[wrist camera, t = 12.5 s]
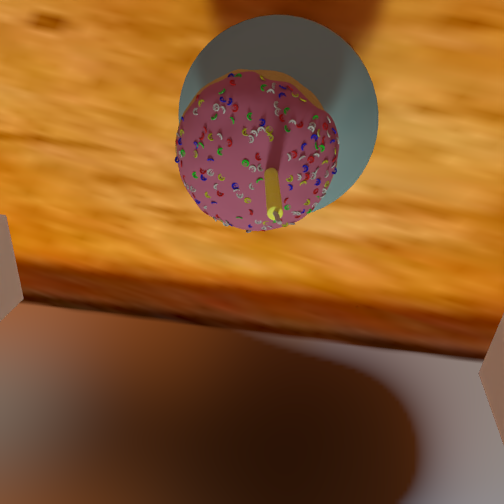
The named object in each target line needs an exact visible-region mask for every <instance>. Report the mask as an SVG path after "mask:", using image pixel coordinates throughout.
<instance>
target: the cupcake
mask: <svg viewBox="0 0 504 504" xmlns="http://www.w3.org/2000/svg"><path fill="white" fill-rule="evenodd" d="M339 143H340V142H339V137H338V132H337V129H336V126H335V123H334V121H333V119H332V117H331V116H330V115H329V114H328V113H327V112H326V111H325V110H324V108H323V107H322V105H321V103H320V102H319V100H318V99H317V97H316V96H315V95H314V94H313V93H312V92H311V91H310V90H308V89H307V88H306V87H304V86H303V85H302V84H300V83H299V82H298V81H297V80H295V79H294V78H292V77H291V76H289V75H287V74H285V73H282V72H278V71H271V70H246V69H237V70H234V71H231V72H229V73H227V74H225V75H223V76H221V77H219V78H217V79H215V80H214V81H212V82H210V83H208V84H207V85H205V86H204V87H203V88H201V89H200V90H199V91H198V93H197V94H196V95H195V97H194V98H193V99H192V101H191V102H190V104H189V105H188V107H187V108H186V110H185V111H184V113H183V115H182V117H181V120H180V123H179V127H178V131H177V137H176V156H177V157H176V158H175V162H176V163H178V166H179V171H180V175H181V178H182V181H183V183H184V185H185V187H186V189H187V191H188V192H189V194H190V195H191V197H192V198H193V199H194V201H195V202H196V204H197V205H198V207H199V208H200V209H201V210H202V211H203V212H204V213H206V214H207V215H209V216H211V217H213V218H214V220H215V221H217V220H219V221H221V222H223V225H225V226H229V225H231V226H234V227H237V228H241V229H245V230H246V232H247V233H249V232H251V231H265V230H271V229H275V228H280V227H286V226H288V225H289V224H291V225H294V224H295V222H297V221H299V220H300V219H302V218H303V217H305V216H306V215H307V214H308V213H310V212H311V211H312V210H313V209H314V208H315V206H317V204H318V203H319V202H320V200H321V199H322V197H324V196H325V195H326V191H327V189H328V187H329V185H330V183H331V181H332V178H333V176H334V174H336V172H337V169H336V167H337V159H338V152H339ZM216 219H217V220H216ZM226 224H227V225H226ZM249 230H250V231H249ZM248 231H249V232H248Z"/></svg>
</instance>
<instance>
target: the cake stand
mask: <svg viewBox="0 0 504 504" xmlns="http://www.w3.org/2000/svg"><path fill="white" fill-rule="evenodd" d="M237 69H246V70H271V71H278V72H282V73H285V74H287V75H289V76H291V77H292V78H294V79H295V80H297V81H298V82H299V83H300V84H302V85H303V86H304V87H306V88H307V89H308V90H310V91H311V92H312V93H313V94H314V95H315V96H316V97H317V99H318V100H319V102H320V103H321V105H322V107H323V108H324V110H325V111H326V112H327V113H328V114H329V115H330V116H331V117H332V119H333V121H334V123H335V126H336V129H337V132H338V137H339V142H340V143H339V152H338V159H337V167H336V169H337V172H336V174H334V176H333V178H332V181H331V183H330V185H329V187H328V189H327V191H326V195H325V196H324V197H322V199H321V200H320V202H319V203H318V204H317V206H315V208H314V209H313V210H312V211H311V212H314V211H316V210H318V209H321V208H323V207H325V206H327V205H328V204H330V203H332V202H333V201H335V200H336V199H338V198H339V197H340V196H342V195H343V194H344V193H345V192H346V191H347V190H348V189H349V188H350V187H351V186H352V185H353V184H354V183H355V182H356V180H357V179H358V178H359V176H360V175H361V174H362V172H363V170H364V169H365V167H366V165H367V164H368V161H369V159H370V157H371V154H372V152H373V149H374V145H375V141H376V137H377V130H378V106H377V98H376V94H375V90H374V87H373V83H372V81H371V78H370V76H369V73H368V71H367V69H366V67H365V65H364V64H363V62H362V60H361V59H360V57H359V56H358V54H357V53H356V52H355V51H354V49H353V48H352V47H351V46H350V45H349V44H348V43H347V42H346V41H345V40H344V39H343V38H342V37H341V36H340V35H338V34H337V33H335V32H334V31H332V30H331V29H329V28H328V27H326V26H324V25H322V24H320V23H318V22H316V21H313V20H310V19H307V18H304V17H299V16H293V15H279V14H273V15H266V16H259V17H256V18H252V19H248V20H245V21H243V22H241V23H238V24H236V25H234V26H232V27H230V28H228V29H227V30H225V31H224V32H222V33H220V34H219V35H218V36H217V37H215V38H214V39H213V40H212V41H211V42H209V43H208V44H207V46H206V47H205V48H204V49H203V50H202V51H201V52H200V53H199V55H198V56H197V58H196V59H195V61H194V62H193V64H192V66H191V68H190V70H189V72H188V74H187V76H186V78H185V81H184V84H183V87H182V91H181V96H180V102H179V123H180V120H181V117H182V115H183V113H184V111H185V110H186V108H187V107H188V105H189V104H190V102H191V101H192V99H193V98H194V97H195V95H196V94H197V93H198V91H199V90H200V89H201V88H203V87H204V86H205V85H207V84H208V83H210V82H212V81H214V80H215V79H217V78H219V77H221V76H223V75H225V74H227V73H229V72H231V71H234V70H237Z"/></svg>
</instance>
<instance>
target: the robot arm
mask: <svg viewBox="0 0 504 504" xmlns="http://www.w3.org/2000/svg"><path fill="white" fill-rule="evenodd" d="M23 299H24V298H23V294H22V289H21V284H20V279H19V275H18V270H17V265H16V260H15V256H14V251H13V246H12V241H11V236H10V232H9V227H8V222H7V217H6V215H0V321H1V320H2V319H3V318H4V317H5V316H6V315H7V314H8V313H9V312H10V311H11V310H12V309H13V308H15V307H16V306H17V305H18V304H19V303H20V302H21V301H22V300H23ZM479 376H480V379H481V382H482V385H483V387H484V390H485V393H486V396H487V399H488V402H489V404H490V407H491V410H492V413H493V416H494V419H495V422H496V424H497V427H498V430H499V433H500V436H501V439H502V442H503V444H504V314H503V317H502V319H501V321H500V324H499V326H498V328H497V331H496V333H495V336H494V338H493V340H492V343H491V345H490V347H489V350H488V352H487V355H486V357H485V359H484V362H483V364H482V367H481V369H480V371H479Z"/></svg>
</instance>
